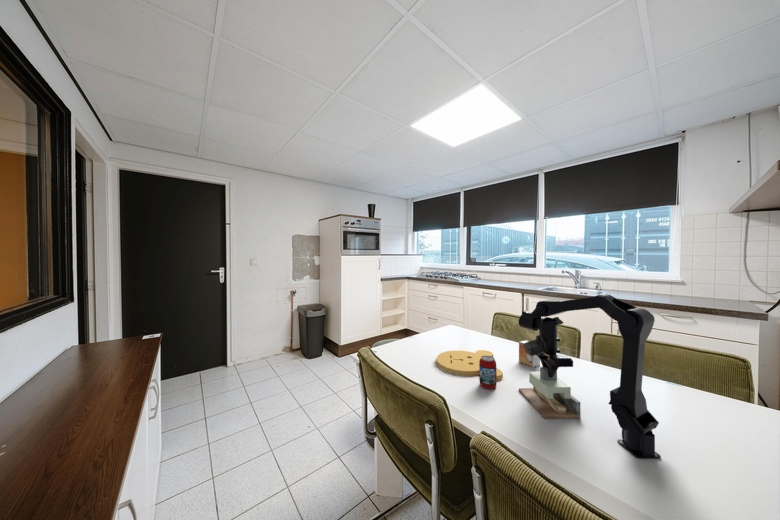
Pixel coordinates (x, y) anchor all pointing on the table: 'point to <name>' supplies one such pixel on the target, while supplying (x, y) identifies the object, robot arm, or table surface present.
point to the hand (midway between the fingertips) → (548, 375)
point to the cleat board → (544, 405)
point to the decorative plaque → (463, 362)
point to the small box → (527, 356)
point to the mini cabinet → (549, 384)
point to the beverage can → (488, 372)
